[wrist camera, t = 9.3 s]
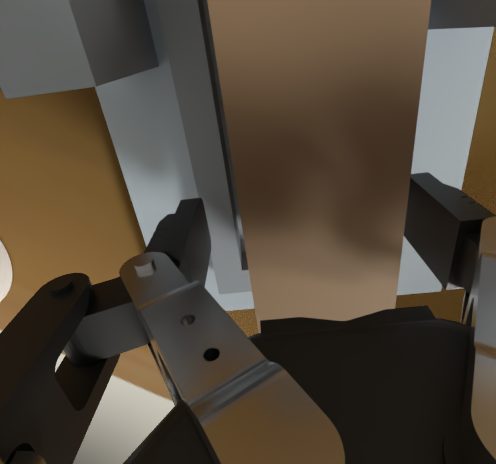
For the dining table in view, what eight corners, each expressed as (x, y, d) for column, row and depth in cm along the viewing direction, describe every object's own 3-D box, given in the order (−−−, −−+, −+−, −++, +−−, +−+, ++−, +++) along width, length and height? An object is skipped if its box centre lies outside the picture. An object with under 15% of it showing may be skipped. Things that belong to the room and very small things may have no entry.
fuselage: (344, 224, 15) (393, 322, 10) (255, 233, 15) (258, 333, 10) (350, -158, 9) (479, -405, 4) (206, -132, 10) (156, -334, 4)
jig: (429, 276, 18) (518, 394, 12) (173, 300, 19) (138, 421, 13) (532, -310, 9) (1143, -1058, 3) (18, -208, 10) (-357, -604, 4)
